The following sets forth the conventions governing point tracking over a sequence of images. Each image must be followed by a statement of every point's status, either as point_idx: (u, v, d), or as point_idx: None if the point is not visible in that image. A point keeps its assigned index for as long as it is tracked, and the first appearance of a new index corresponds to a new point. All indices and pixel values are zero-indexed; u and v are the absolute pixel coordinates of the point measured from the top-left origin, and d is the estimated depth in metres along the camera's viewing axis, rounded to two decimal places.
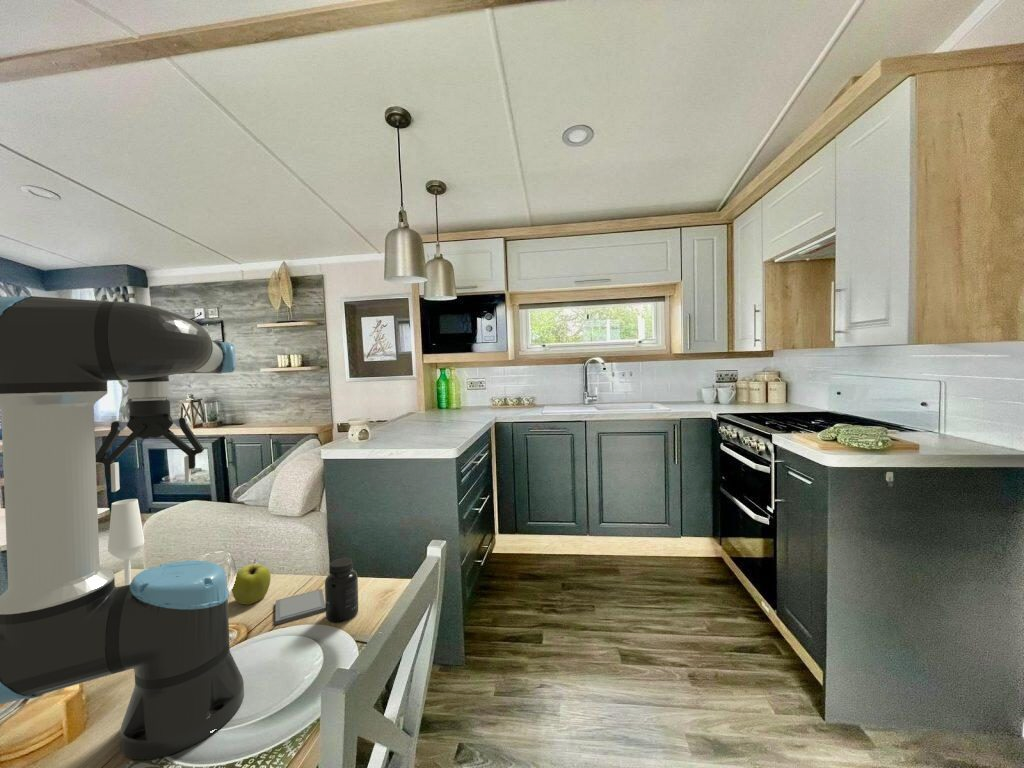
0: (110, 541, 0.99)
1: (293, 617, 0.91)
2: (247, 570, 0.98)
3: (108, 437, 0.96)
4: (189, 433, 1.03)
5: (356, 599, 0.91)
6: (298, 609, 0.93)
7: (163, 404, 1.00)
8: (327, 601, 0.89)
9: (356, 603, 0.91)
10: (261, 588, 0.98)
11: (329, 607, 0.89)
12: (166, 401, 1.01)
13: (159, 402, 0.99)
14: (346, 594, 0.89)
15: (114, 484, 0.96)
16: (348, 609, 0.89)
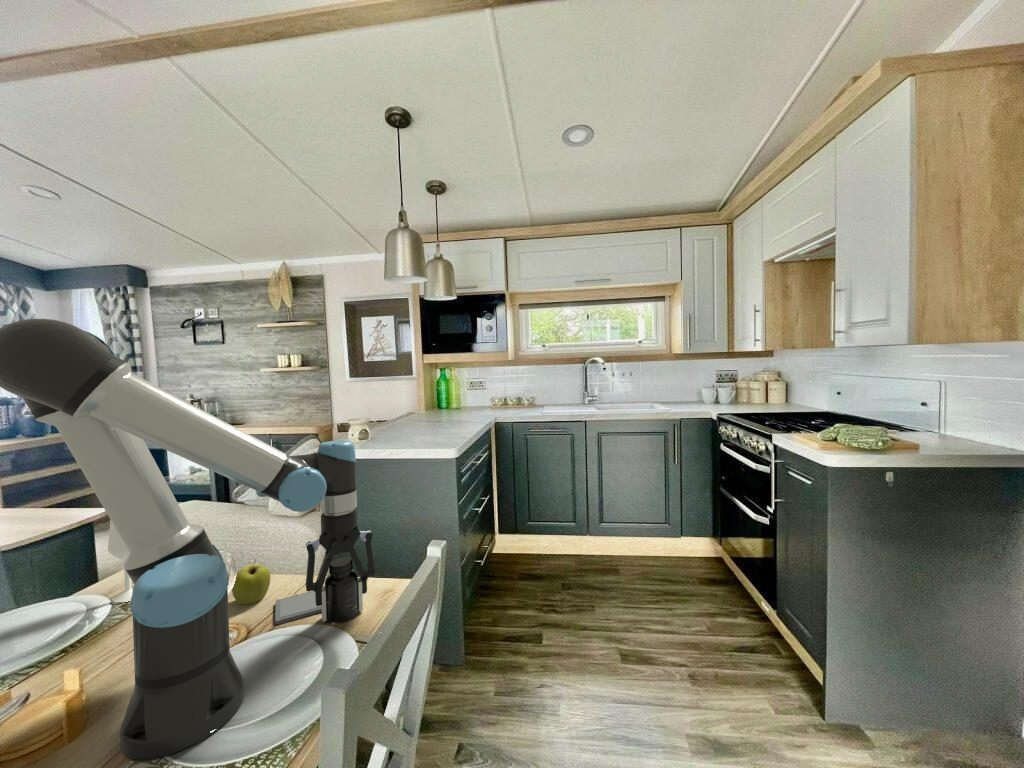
0: (110, 541, 0.99)
1: (293, 617, 0.91)
2: (247, 570, 0.98)
3: (310, 563, 0.88)
4: (370, 551, 0.94)
5: (356, 599, 0.91)
6: (298, 609, 0.93)
7: (354, 516, 0.91)
8: (327, 601, 0.89)
9: (356, 603, 0.91)
10: (261, 588, 0.98)
11: (329, 607, 0.89)
12: (356, 511, 0.92)
13: (352, 515, 0.90)
14: (346, 594, 0.89)
15: (325, 613, 0.89)
16: (348, 609, 0.89)
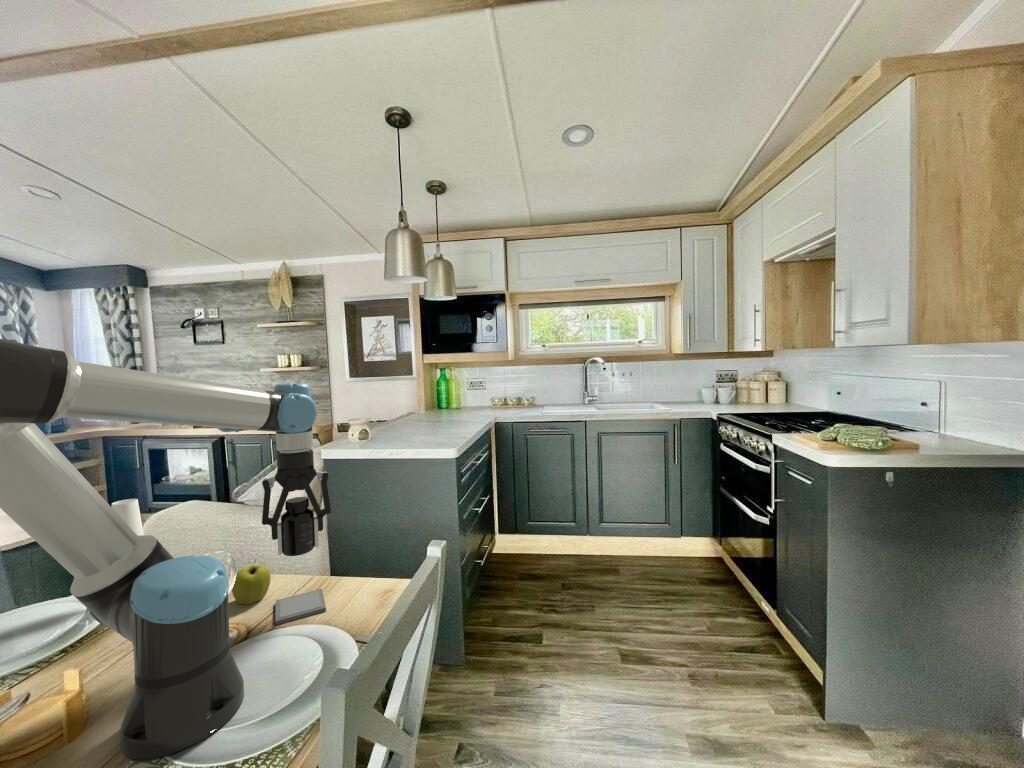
0: None
1: (293, 617, 0.91)
2: (247, 570, 0.98)
3: (265, 497, 0.91)
4: (326, 490, 0.98)
5: (312, 535, 0.95)
6: (298, 609, 0.93)
7: (310, 455, 0.95)
8: (283, 535, 0.93)
9: (312, 539, 0.95)
10: (261, 588, 0.98)
11: (284, 541, 0.93)
12: (311, 451, 0.96)
13: (307, 453, 0.94)
14: (300, 528, 0.93)
15: (280, 546, 0.93)
16: (302, 543, 0.93)
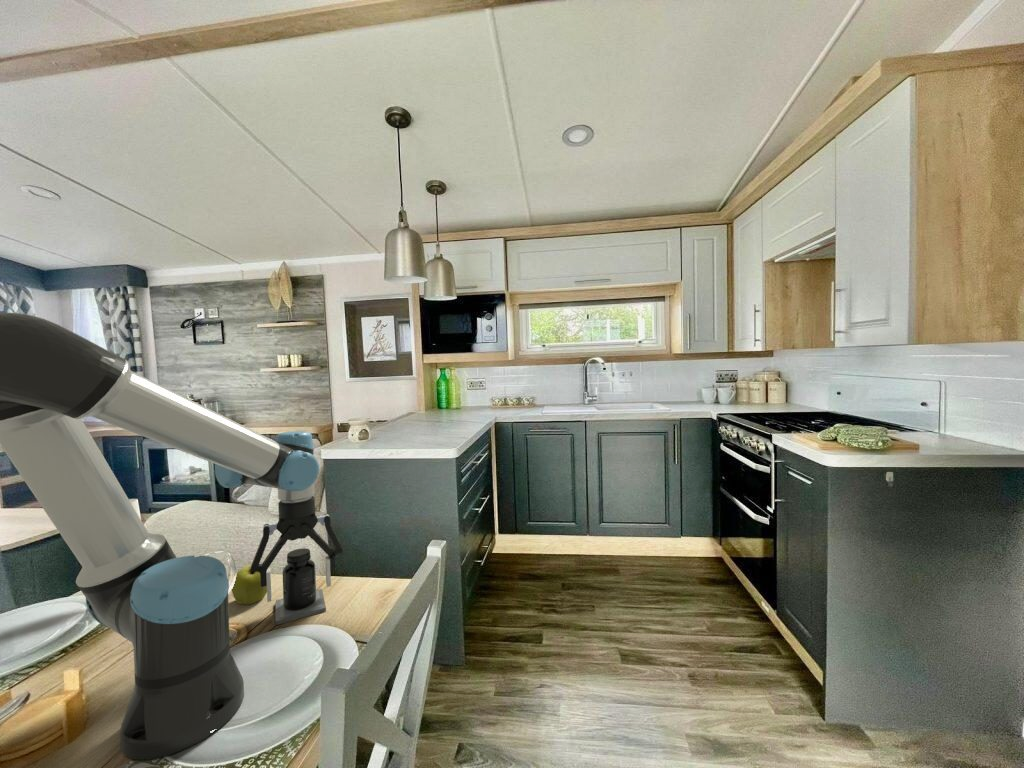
0: None
1: (293, 617, 0.91)
2: (247, 570, 0.98)
3: (261, 544, 0.91)
4: (332, 532, 0.98)
5: (313, 587, 0.95)
6: None
7: (311, 504, 0.95)
8: (284, 589, 0.93)
9: (313, 591, 0.95)
10: (261, 588, 0.98)
11: (286, 595, 0.93)
12: (313, 499, 0.96)
13: (308, 502, 0.94)
14: (302, 582, 0.93)
15: (269, 593, 0.91)
16: (304, 597, 0.93)
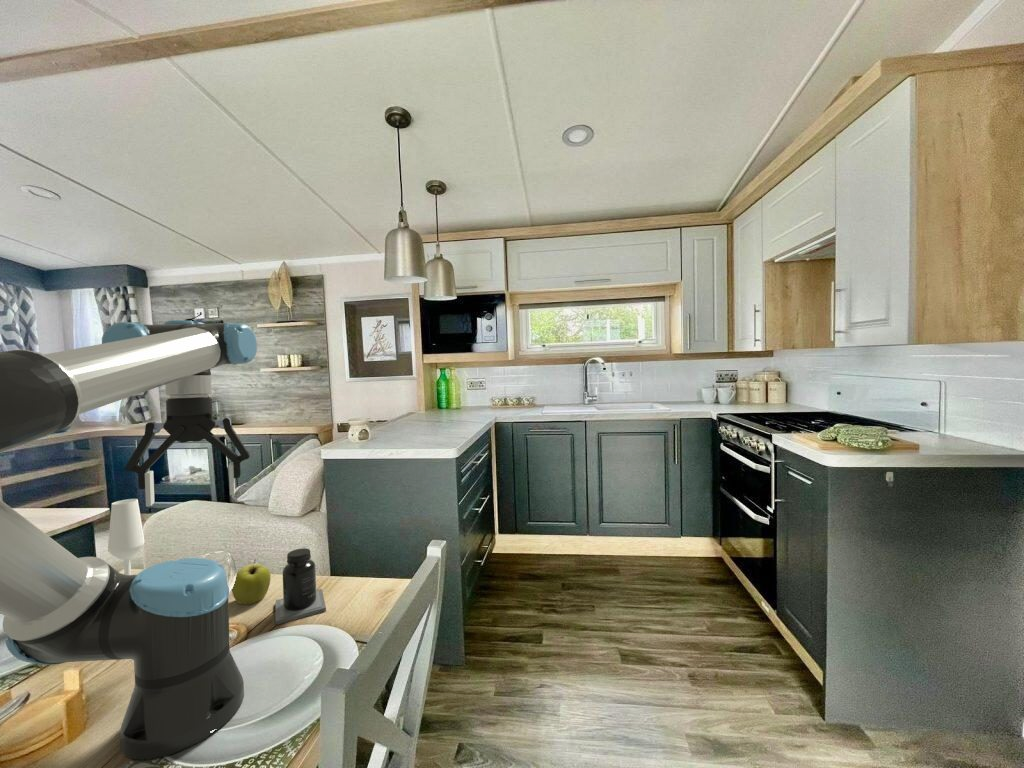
0: (110, 541, 0.99)
1: (293, 617, 0.91)
2: (247, 570, 0.98)
3: (142, 441, 0.80)
4: (234, 436, 0.88)
5: (313, 587, 0.95)
6: None
7: (205, 402, 0.84)
8: (284, 589, 0.93)
9: (313, 591, 0.95)
10: (261, 588, 0.98)
11: (286, 595, 0.93)
12: (208, 398, 0.85)
13: (201, 400, 0.84)
14: (302, 582, 0.93)
15: (149, 497, 0.81)
16: (304, 597, 0.93)
